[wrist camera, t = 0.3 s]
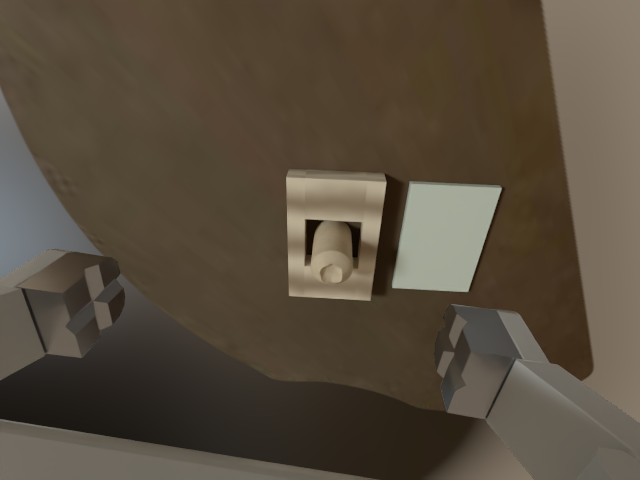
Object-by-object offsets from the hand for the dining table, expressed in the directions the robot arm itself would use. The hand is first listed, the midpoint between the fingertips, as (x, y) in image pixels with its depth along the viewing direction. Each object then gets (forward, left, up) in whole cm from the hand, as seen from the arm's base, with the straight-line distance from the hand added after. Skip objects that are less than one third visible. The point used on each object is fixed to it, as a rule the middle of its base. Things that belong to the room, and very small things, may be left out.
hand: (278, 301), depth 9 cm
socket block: (+22, +2, -39) cm, 45 cm away
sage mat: (+22, +18, -39) cm, 48 cm away
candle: (+22, +2, -39) cm, 45 cm away
